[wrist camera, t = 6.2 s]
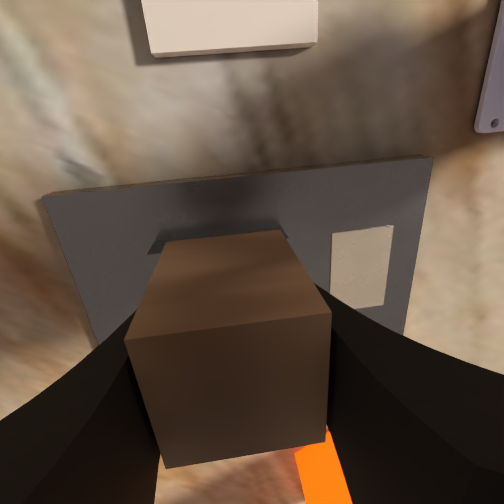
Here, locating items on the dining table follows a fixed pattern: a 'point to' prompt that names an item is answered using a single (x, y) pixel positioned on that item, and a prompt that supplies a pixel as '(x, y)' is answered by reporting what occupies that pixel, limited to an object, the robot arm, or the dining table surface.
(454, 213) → the dining table surface
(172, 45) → the beige rectangular block
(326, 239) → the gray socket plate
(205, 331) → the walnut block
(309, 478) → the orange juice
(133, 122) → the dining table surface
